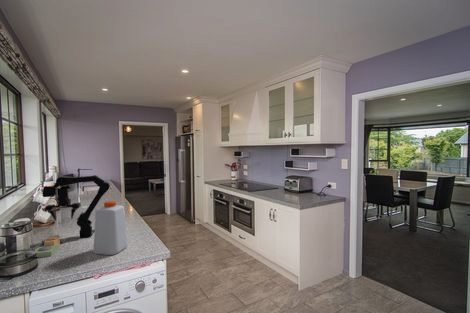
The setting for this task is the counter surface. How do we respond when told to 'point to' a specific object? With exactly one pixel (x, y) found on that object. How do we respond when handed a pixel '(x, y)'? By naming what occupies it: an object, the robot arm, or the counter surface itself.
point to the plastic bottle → (110, 229)
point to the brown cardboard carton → (52, 240)
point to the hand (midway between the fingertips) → (63, 219)
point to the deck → (47, 249)
